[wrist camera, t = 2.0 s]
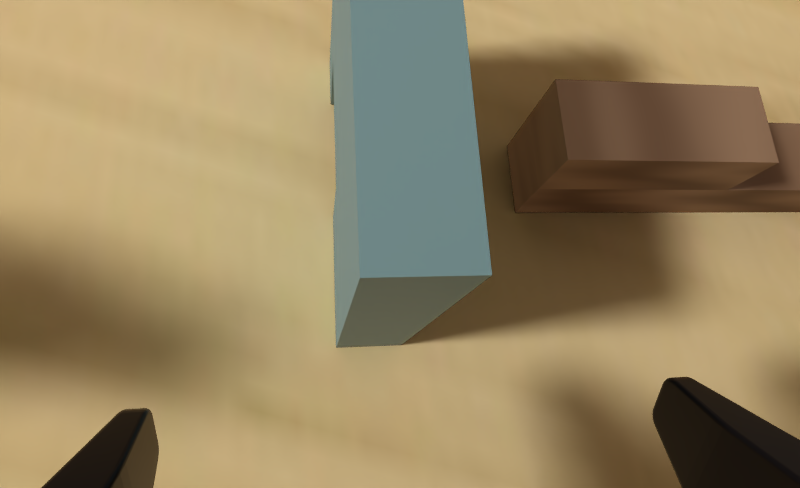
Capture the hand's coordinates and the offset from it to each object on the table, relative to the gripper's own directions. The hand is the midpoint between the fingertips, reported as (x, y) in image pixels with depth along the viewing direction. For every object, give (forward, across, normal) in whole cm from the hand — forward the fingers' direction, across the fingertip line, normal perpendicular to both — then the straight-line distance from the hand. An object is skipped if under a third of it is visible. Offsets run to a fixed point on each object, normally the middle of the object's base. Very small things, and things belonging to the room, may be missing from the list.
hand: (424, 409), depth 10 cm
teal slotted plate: (+13, 0, +2) cm, 13 cm away
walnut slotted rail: (+14, -16, +1) cm, 21 cm away
